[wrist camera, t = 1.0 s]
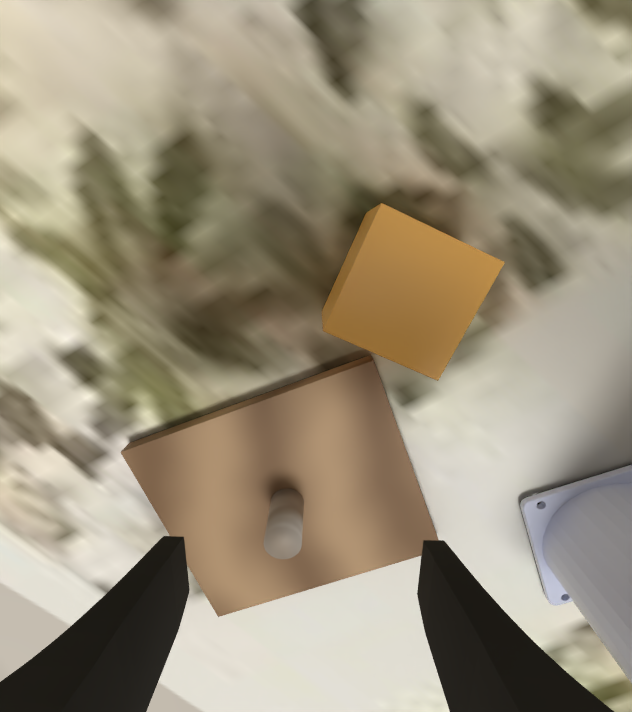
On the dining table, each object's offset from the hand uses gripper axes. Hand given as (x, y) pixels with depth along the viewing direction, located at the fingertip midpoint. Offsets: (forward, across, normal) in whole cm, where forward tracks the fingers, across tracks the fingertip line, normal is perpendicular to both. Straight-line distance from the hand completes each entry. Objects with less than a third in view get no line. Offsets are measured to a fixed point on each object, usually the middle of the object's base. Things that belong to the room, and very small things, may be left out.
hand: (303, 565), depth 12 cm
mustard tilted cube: (+10, -4, -7) cm, 13 cm away
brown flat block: (+10, +1, +4) cm, 11 cm away
